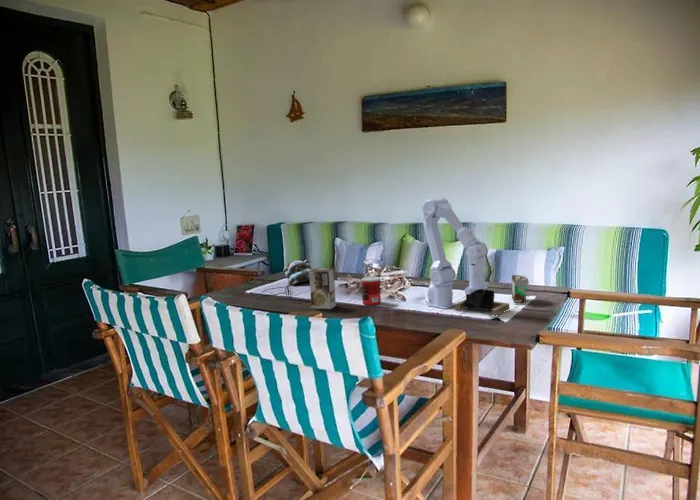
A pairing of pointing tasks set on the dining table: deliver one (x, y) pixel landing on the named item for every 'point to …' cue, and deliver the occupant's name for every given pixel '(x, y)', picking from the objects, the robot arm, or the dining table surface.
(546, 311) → the dining table surface
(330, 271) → the coffee box
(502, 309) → the frame
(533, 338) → the dining table surface
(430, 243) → the robot arm
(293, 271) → the grey lumpy clump
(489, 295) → the digital camera
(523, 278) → the food container
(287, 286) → the glasses
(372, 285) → the canned food
